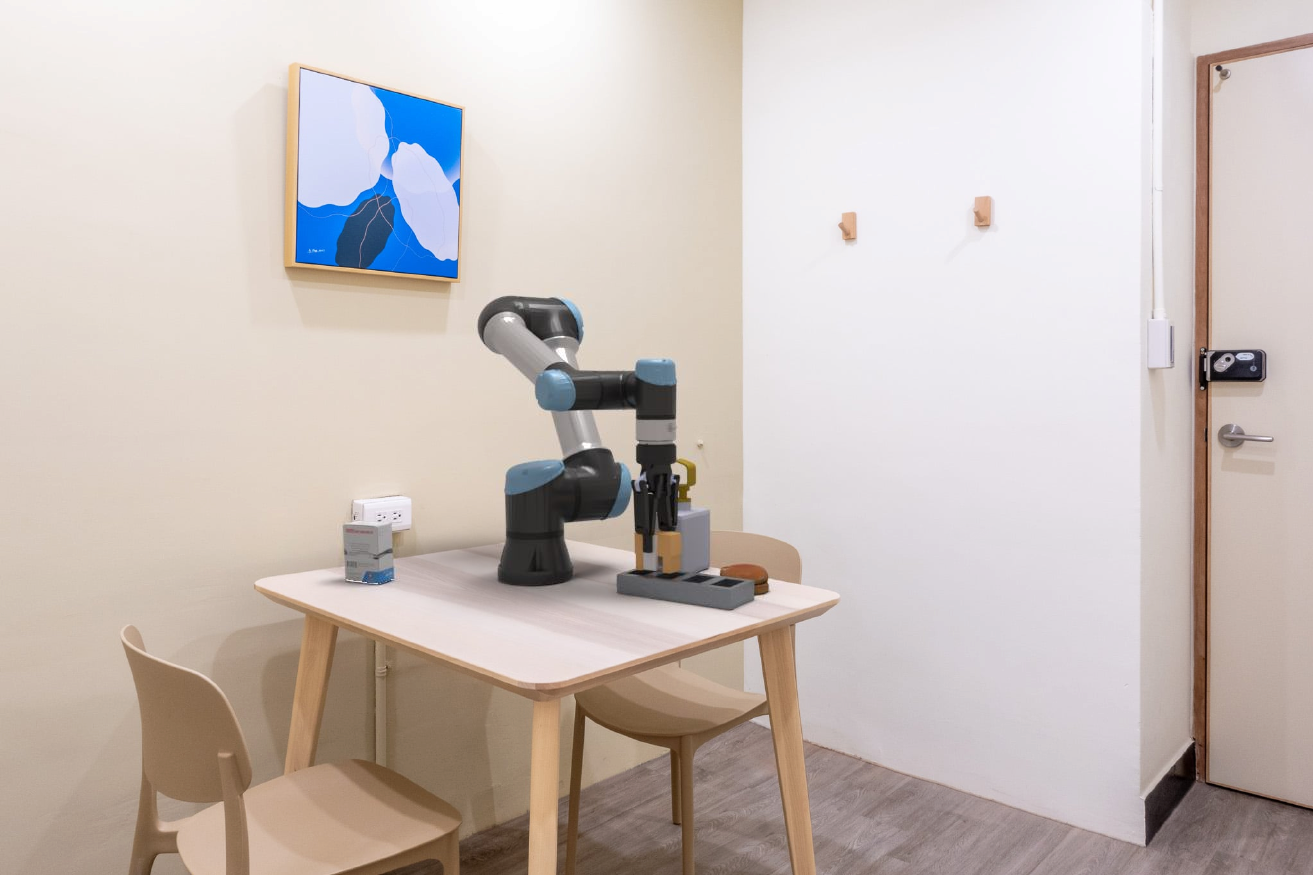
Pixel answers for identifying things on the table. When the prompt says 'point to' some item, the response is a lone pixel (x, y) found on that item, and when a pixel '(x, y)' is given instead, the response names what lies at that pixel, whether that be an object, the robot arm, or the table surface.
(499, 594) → the table surface
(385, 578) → the ink box
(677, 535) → the orange bridge block
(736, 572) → the burger
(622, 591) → the grey compartment tray
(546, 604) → the table surface
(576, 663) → the table surface
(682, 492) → the soap bottle
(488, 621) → the table surface
